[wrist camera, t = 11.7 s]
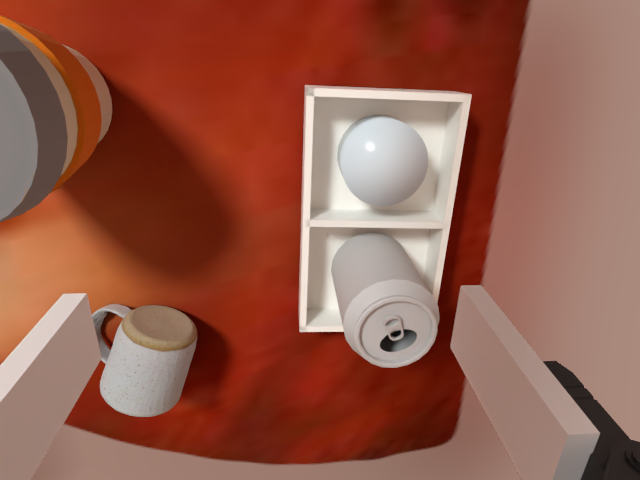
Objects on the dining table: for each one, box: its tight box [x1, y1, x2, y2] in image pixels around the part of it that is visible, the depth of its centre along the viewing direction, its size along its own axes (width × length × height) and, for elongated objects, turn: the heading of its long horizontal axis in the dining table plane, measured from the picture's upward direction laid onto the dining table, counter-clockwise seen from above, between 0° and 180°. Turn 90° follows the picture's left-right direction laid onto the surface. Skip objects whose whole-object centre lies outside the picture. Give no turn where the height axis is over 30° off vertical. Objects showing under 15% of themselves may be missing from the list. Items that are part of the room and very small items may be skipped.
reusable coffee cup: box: [0, 15, 112, 222], centre depth 29 cm, size 12×12×15 cm
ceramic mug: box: [92, 304, 197, 417], centre depth 42 cm, size 11×8×8 cm
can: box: [331, 232, 440, 368], centre depth 37 cm, size 8×8×12 cm
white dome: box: [337, 114, 428, 206], centre depth 37 cm, size 7×7×4 cm
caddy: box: [299, 85, 472, 332], centre depth 40 cm, size 22×13×4 cm, turn 178°
